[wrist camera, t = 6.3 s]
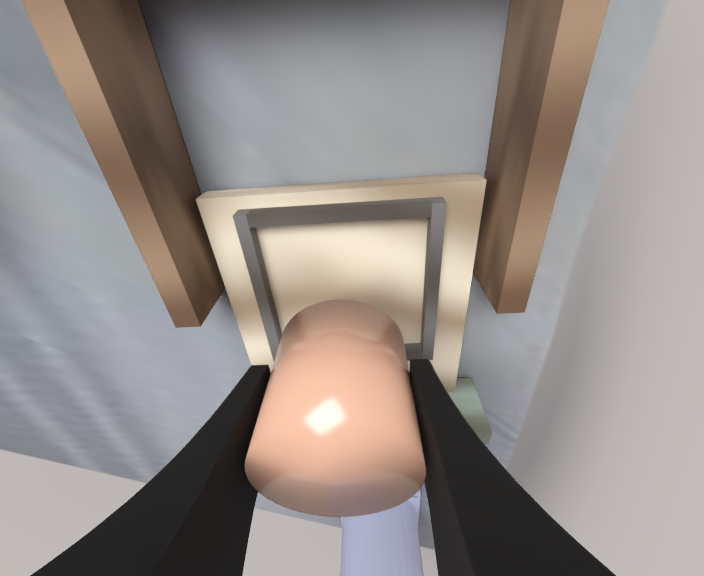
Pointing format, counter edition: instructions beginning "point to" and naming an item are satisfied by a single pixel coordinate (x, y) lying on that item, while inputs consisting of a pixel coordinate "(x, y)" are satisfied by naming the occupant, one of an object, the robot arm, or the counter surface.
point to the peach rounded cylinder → (338, 416)
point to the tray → (355, 262)
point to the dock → (179, 179)
